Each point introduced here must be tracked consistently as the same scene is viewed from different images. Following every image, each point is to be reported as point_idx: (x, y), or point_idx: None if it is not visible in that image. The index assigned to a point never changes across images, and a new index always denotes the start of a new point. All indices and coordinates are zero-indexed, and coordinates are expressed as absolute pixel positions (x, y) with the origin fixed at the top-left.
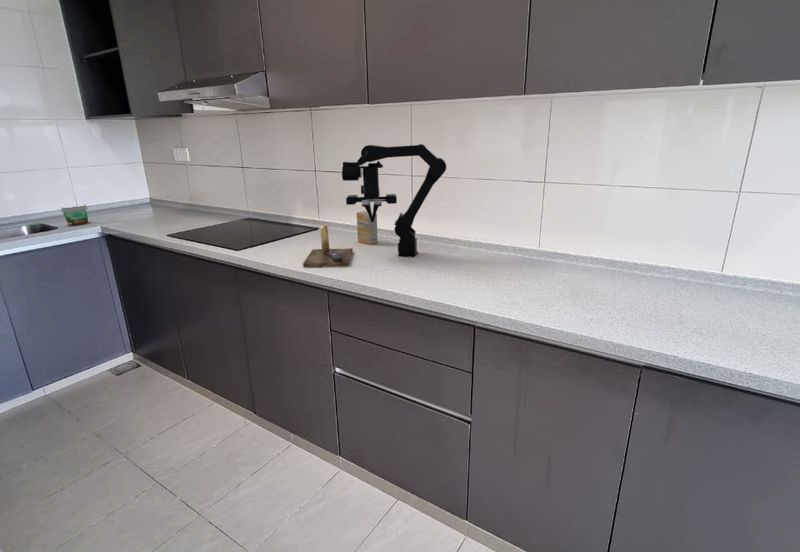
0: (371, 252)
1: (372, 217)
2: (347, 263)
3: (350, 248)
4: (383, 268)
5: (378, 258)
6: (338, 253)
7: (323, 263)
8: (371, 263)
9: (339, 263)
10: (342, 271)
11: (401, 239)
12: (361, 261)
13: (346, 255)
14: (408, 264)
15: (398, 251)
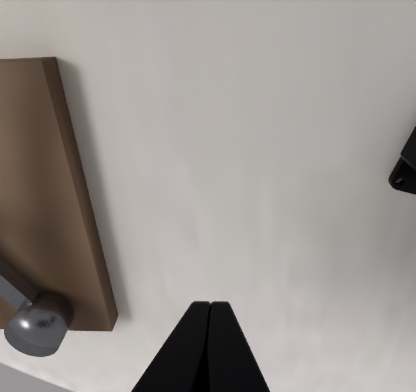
0: (200, 74)
1: (204, 367)
2: (112, 327)
3: (25, 62)
4: (282, 345)
5: (256, 212)
6: (41, 340)
7: (3, 328)
8: (222, 285)
9: (75, 327)
10: (114, 359)
11: None
12: (166, 254)
13: (64, 229)
14: (410, 311)
15: (407, 162)
